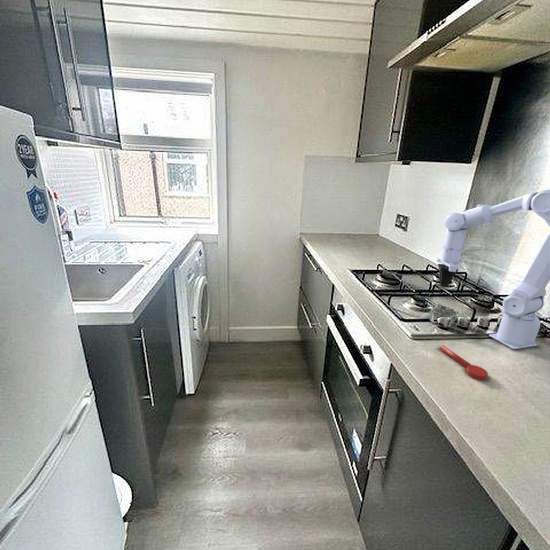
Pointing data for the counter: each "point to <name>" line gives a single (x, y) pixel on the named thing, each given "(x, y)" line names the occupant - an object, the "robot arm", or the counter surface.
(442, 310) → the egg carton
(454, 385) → the counter surface
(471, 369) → the spoon
